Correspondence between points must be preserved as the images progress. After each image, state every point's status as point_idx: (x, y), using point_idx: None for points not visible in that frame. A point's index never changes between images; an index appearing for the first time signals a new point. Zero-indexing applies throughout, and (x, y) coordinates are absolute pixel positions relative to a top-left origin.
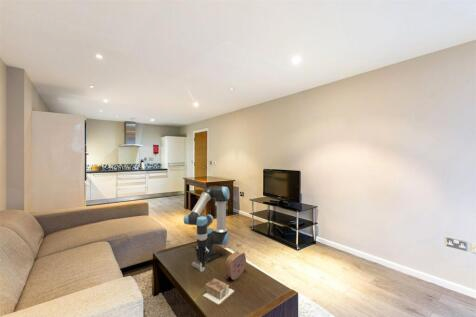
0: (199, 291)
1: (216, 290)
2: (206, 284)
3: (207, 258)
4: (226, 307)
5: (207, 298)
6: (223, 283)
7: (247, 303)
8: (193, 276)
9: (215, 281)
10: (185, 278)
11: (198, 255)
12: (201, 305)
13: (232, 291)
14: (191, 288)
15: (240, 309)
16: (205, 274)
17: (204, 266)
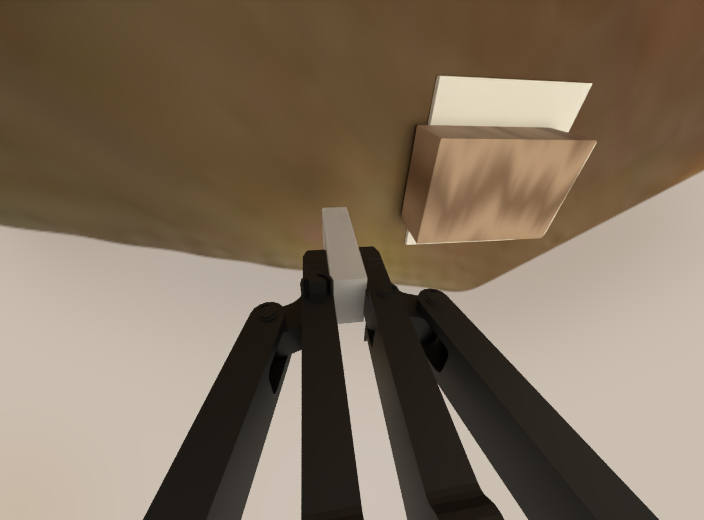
0: (359, 229)
1: (514, 237)
2: (423, 239)
3: (488, 342)
4: (553, 225)
5: None
6: (549, 152)
7: (675, 135)
8: (158, 133)
9: (471, 172)
10: (146, 197)
11: (266, 423)
12: (434, 280)
13: (579, 102)
14: (296, 240)
15: (627, 196)
16: (206, 10)
17: (373, 250)
